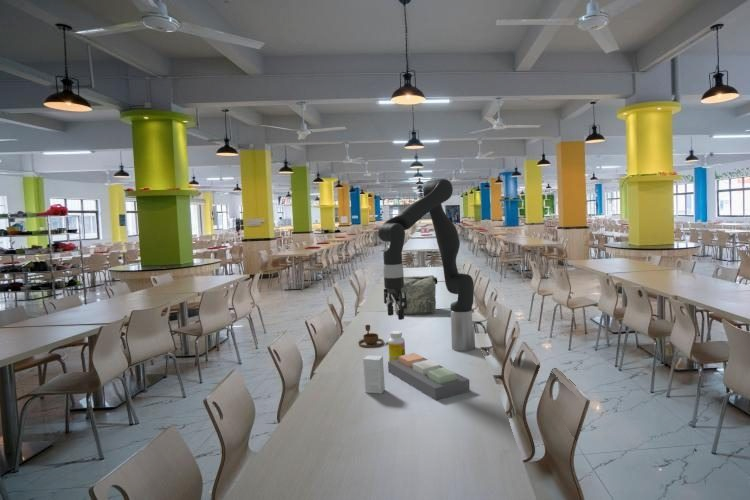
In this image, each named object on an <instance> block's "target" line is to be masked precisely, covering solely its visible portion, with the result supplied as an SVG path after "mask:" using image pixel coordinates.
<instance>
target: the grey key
mask: <svg viewBox="0 0 750 500" xmlns="http://www.w3.org/2000/svg"><path fill="white" fill-rule="evenodd" d="M412 365H413V370H414V371H416V372H417V373H419V374H421V375H427V374H428V371H431V370H435V369H439V365H440V364H438V363H436V362H434V361H432V360H431V359H428V360H425V361H421V362H416V363H412Z"/></svg>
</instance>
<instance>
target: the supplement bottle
mask: <svg viewBox="0 0 750 500" xmlns="http://www.w3.org/2000/svg"><path fill="white" fill-rule="evenodd" d="M389 335H390V338H389V339H388V345H387V346H388V362H389V361H394V360H399V356H402V355H406V348H405V347H406V345H405V338H403V337H402V335H403V332H402V331H401V330H392V331H390V333H389Z"/></svg>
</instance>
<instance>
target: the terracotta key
mask: <svg viewBox="0 0 750 500" xmlns="http://www.w3.org/2000/svg"><path fill="white" fill-rule="evenodd" d="M424 358H425V357H424V356H422V355H419V354H417V353H415V352H413V353H407V354H405V355H402V356H399V363H401V364H403V365H405V366H406V367H412V366H413V365H412V363H416V362H421V361H424Z"/></svg>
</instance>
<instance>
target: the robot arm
mask: <svg viewBox="0 0 750 500" xmlns="http://www.w3.org/2000/svg"><path fill="white" fill-rule="evenodd" d="M453 191H454V187H453V184H452V182H450V180H448V179H446V178H438V179H431V180H426V181H425V182H424V184H423V188H422V192H423V193H422V194H423V197H422V198H420V199H418V200H416V201H415V202H412V203H411V204H409V205H407V206H406V207H405V208H404V209H402V210H401V211H400V212H399V213H398V214H397V215H395V216H393V217H392V218H389V219H388V220H386V221H384V222H383V223H382V224H381V225H380V226H379V228H378V231H377V234H378V238H379V239H380V240H381V241H383V242H387V243H389V247H388V248H387V247H386V248H385V249H384V250H383V255H382V256H383V283H384V284H383V287H384V288H383V303H384V304H386V307H387V315H388V316H394V312H395V311H394V306H395V305H396V306H397V308H398V314H397V318H398V320H399V321H400V320H401V321H403V320H404V319H405V314H404V309H406V308H407V299H406V293H402V292H401V288H403V287H404V277H405V276H404V267H403V249H404V243H405V239H406V230H409V229H411V228H412V227H413V226H414V225H415V224H416V223H417V222H418V221H420V220H421V219H422V217H424V216H425V215H427V214H428V213H429V215H430V218H431V222H432V225H433V229H434V234H435V239H436V243H437V246H438V249H439V253H440V258H441V259H440V260H441V262H442V263H441V264H442V268H443V275H444V283H445V286H446V287H445V288H446V290H447V291H448V292H449V293H450V294H454V295H457V299H456V301H453V302H451V303H450V328H451V330H450V331H451V333H450V334H451V349H452V350H453V351H456V352H470V351H472V350H474V349H476V335H475V330H476V329H475V326H473V304H474V299H475V298H474V296H475V295H474V294H475V293H474V292H475V290H474V289H475V285H474V279H473V277H472V275H470V274H466V273H462V272H461V273H460V272H459V270H458V266H457V256H458V254H459V250H460V246H461V245H460V238H459V235H458V234H459V233H458V229H457V228H456V226H455V224H454V223H453V222H452V220H451V219H450V218H449V217H448V215H447V213H445V211H444V208H443V206H442V204H443V203H445V202H446V201H448V200H449V199H450V198H451V197H452V195H453ZM403 303H404V304H403ZM399 305H400V306H399Z"/></svg>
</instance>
